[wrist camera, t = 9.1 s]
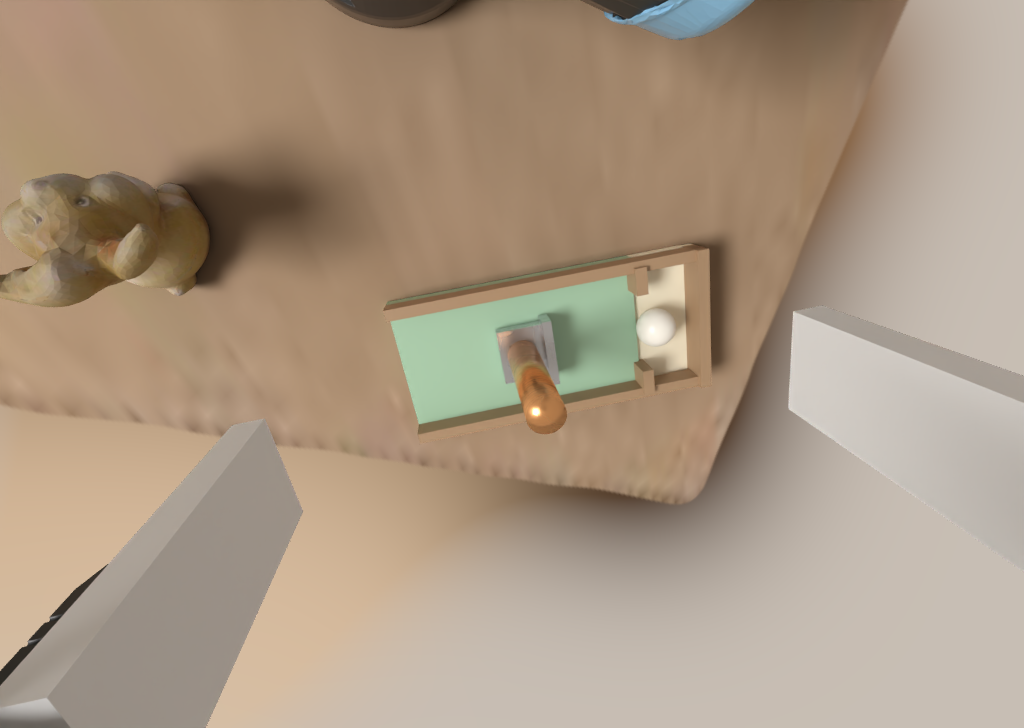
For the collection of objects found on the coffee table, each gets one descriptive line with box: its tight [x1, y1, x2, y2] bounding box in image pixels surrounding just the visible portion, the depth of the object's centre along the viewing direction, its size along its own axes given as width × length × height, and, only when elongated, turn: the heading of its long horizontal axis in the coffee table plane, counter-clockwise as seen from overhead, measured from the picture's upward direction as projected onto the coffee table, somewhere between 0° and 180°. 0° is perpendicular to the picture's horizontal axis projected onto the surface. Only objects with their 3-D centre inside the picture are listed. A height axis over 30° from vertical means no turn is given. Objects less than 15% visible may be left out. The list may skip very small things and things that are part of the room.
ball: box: [636, 308, 676, 347], centre depth 44 cm, size 4×4×4 cm
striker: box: [495, 314, 567, 434], centre depth 39 cm, size 6×5×13 cm
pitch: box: [383, 243, 712, 444], centre depth 45 cm, size 13×28×4 cm, turn 100°
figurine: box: [0, 172, 210, 307], centre depth 32 cm, size 10×9×15 cm
